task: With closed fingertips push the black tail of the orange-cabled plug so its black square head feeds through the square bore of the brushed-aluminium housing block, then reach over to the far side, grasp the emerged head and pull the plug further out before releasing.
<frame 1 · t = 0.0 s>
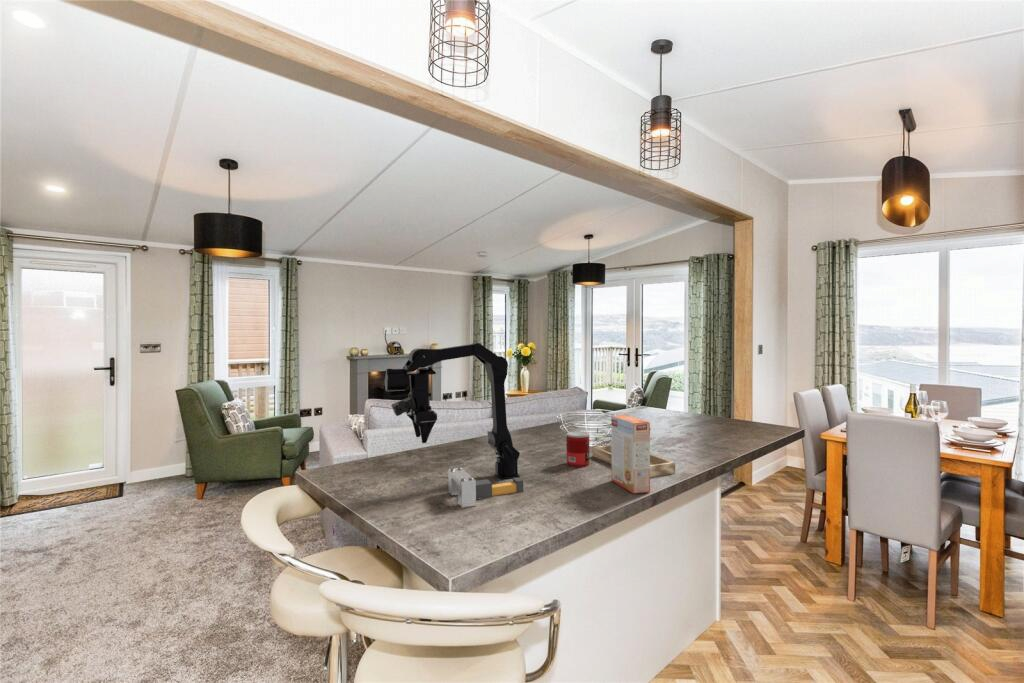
hand: (420, 440, 149), 15 cm above the countertop, fingers open, 9 cm apart
cracker box: (630, 487, 148), on the countertop
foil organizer: (631, 464, 172), on the countertop
plug: (481, 495, 141), on the countertop
canned food: (578, 464, 173), on the countertop
housing: (461, 498, 139), on the countertop
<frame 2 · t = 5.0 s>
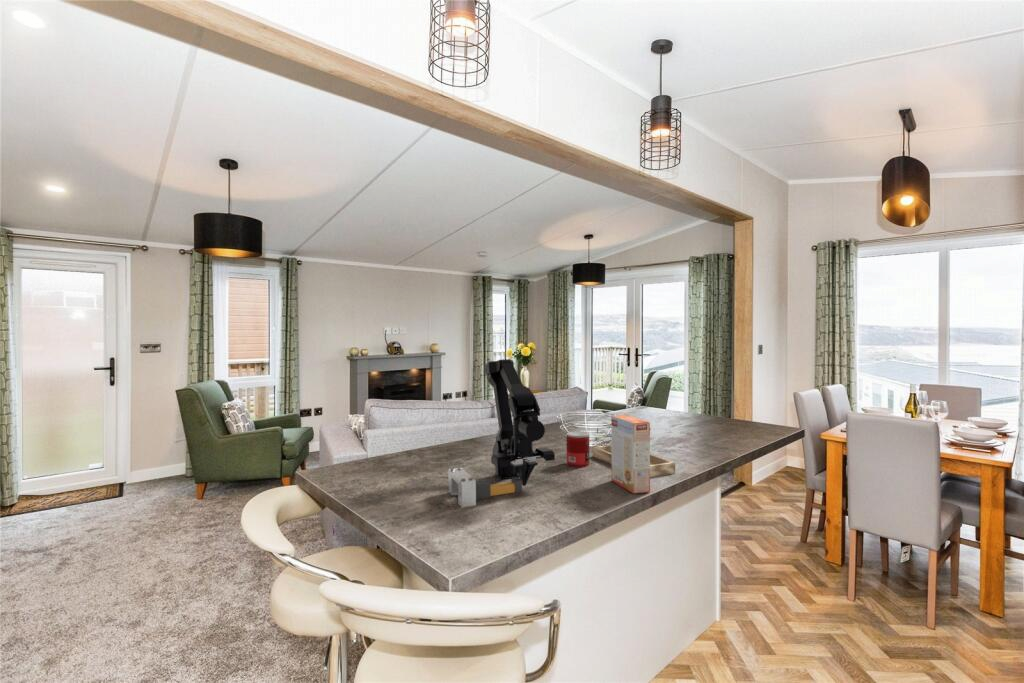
hand: (523, 485, 146), 1 cm above the countertop, fingers closed
plug: (480, 496, 141), on the countertop, touching gripper
everything else where it was.
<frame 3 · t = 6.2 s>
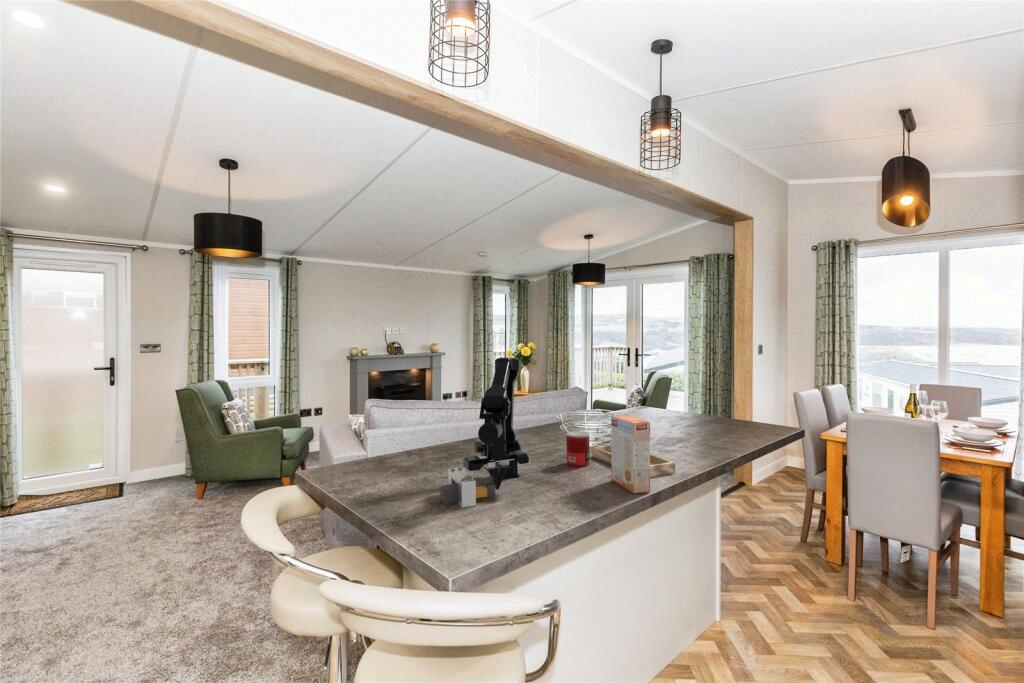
hand: (496, 489, 143), 1 cm above the countertop, fingers closed
plug: (451, 500, 137), on the countertop, touching gripper
everything else where it was.
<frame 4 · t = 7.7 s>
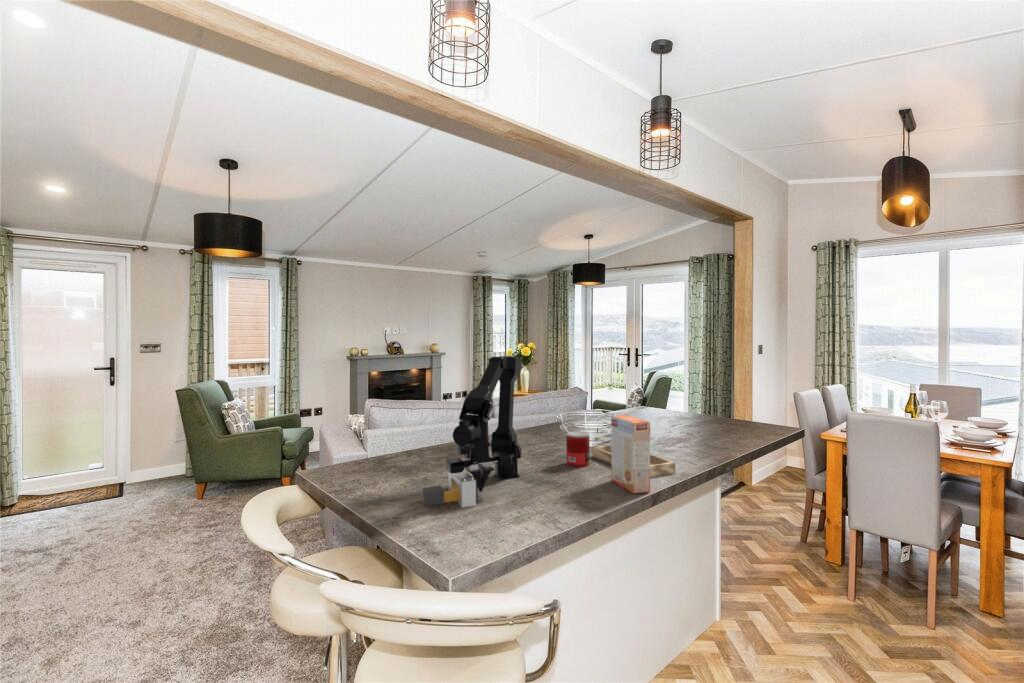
hand: (480, 491, 141), 1 cm above the countertop, fingers closed
plug: (433, 503, 136), on the countertop, touching gripper
everything else where it was.
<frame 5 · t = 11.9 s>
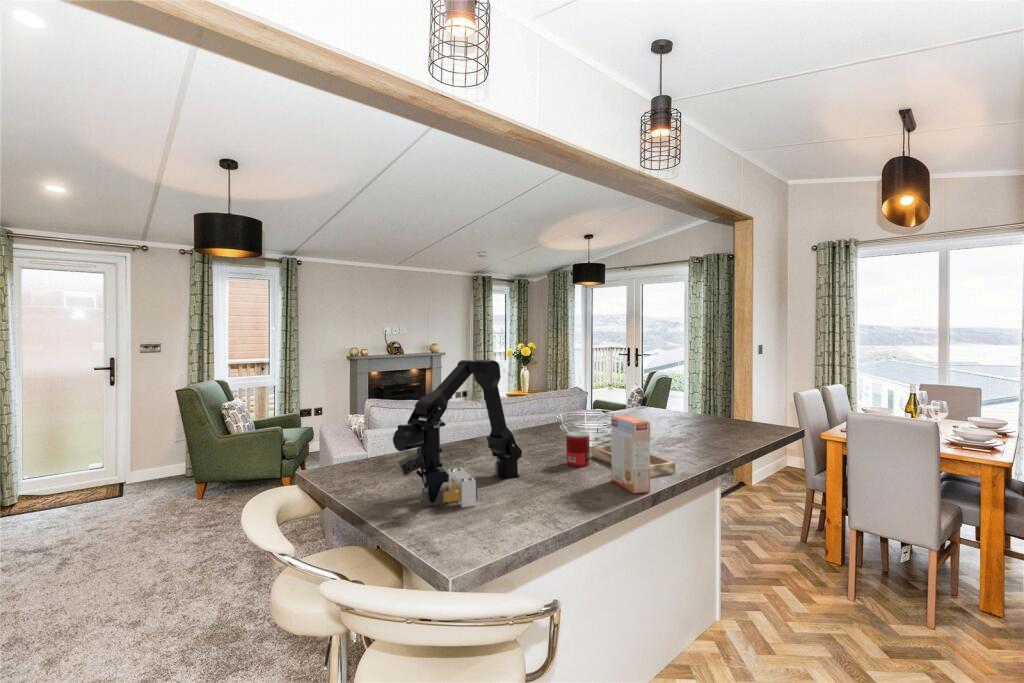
hand: (430, 499, 135), 1 cm above the countertop, fingers closed on plug, 4 cm apart
plug: (432, 503, 136), on the countertop, touching gripper
everything else where it was.
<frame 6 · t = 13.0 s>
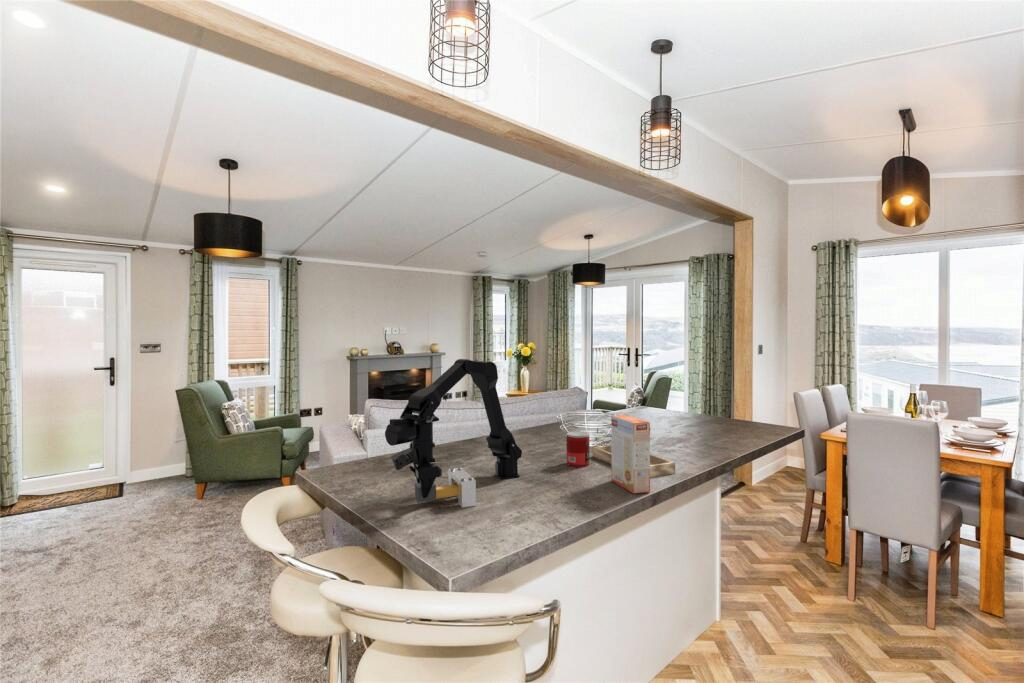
hand: (423, 495, 134), 3 cm above the countertop, fingers closed on plug, 4 cm apart
plug: (425, 498, 135), point 2 cm above the countertop, touching gripper
everything else where it was.
when the fingers open (1 cm above the countertop, at t = 14.3 s): plug stays where it is, on the countertop.
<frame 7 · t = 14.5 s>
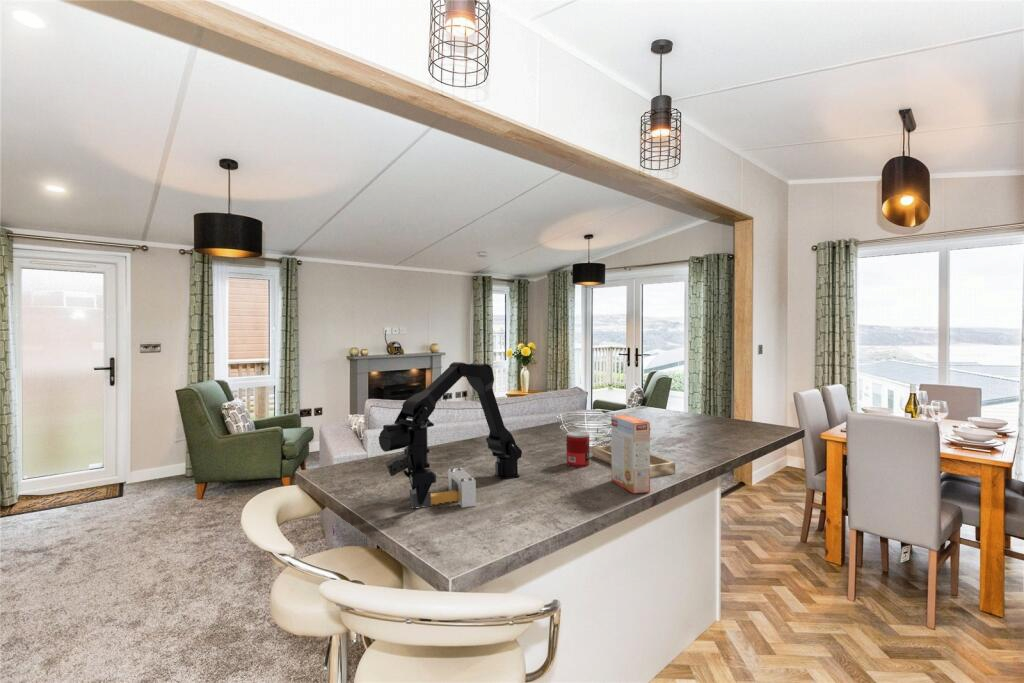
hand: (418, 500, 134), 1 cm above the countertop, fingers open, 6 cm apart
plug: (420, 505, 134), on the countertop
everything else where it was.
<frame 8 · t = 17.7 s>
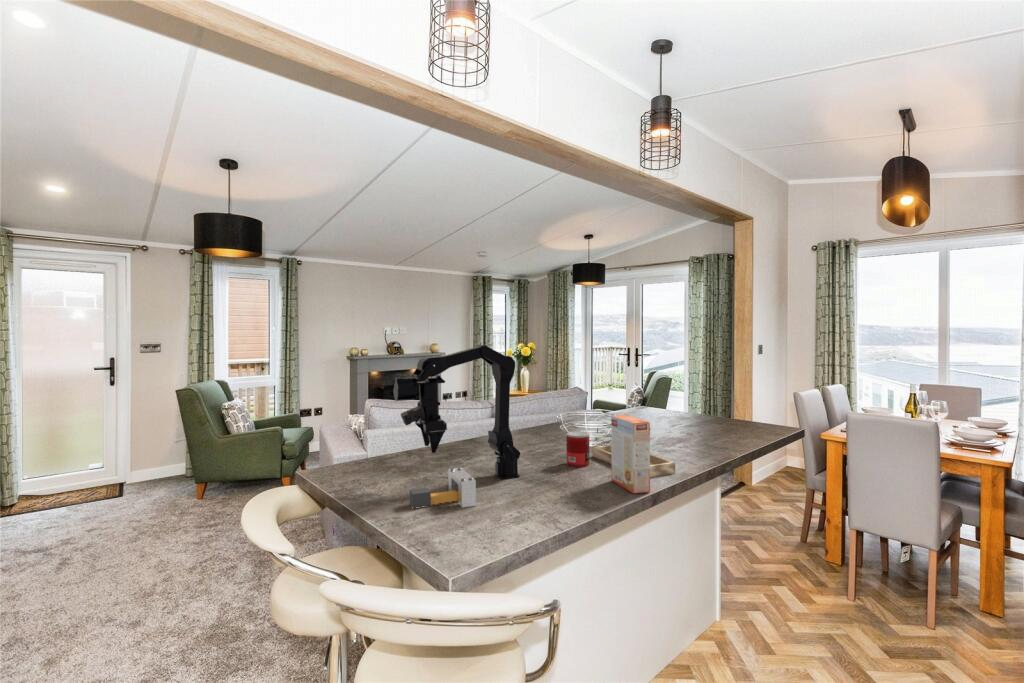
hand: (430, 449, 148), 12 cm above the countertop, fingers open, 9 cm apart
nothing on the countertop moved.
at the end: plug inside the target area (2.1 cm from its centre), on the countertop; the gripper is holding nothing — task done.
